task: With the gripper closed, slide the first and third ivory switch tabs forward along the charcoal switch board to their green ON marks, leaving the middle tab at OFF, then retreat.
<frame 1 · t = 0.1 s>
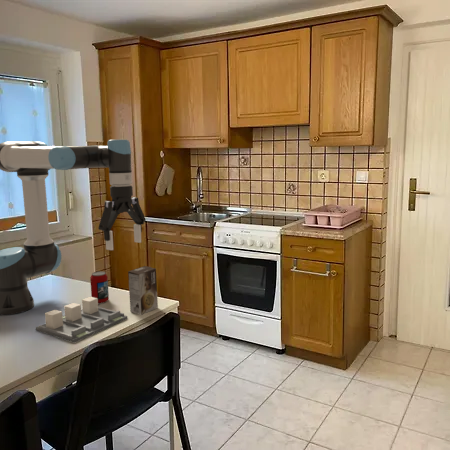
hand: (124, 245, 158), 28 cm above the table, fingers open, 13 cm apart
tab 3: (90, 305, 170), point 4 cm above the table, slide at 0.0 cm
tab 1: (54, 319, 156), point 4 cm above the table, slide at 0.0 cm
coffee box: (144, 310, 174), on the table
switch board: (83, 324, 161), on the table
beverage can: (100, 302, 184), on the table
tab 2: (72, 312, 163), point 4 cm above the table, slide at 0.0 cm
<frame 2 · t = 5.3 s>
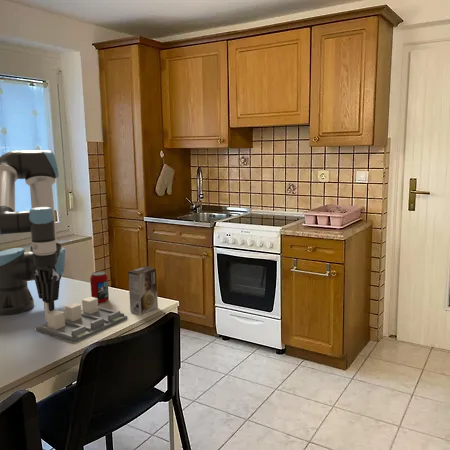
hand: (50, 319, 157), 3 cm above the table, fingers closed
tab 1: (56, 319, 156), point 4 cm above the table, slide at 1.0 cm, touching gripper
everything else where it was.
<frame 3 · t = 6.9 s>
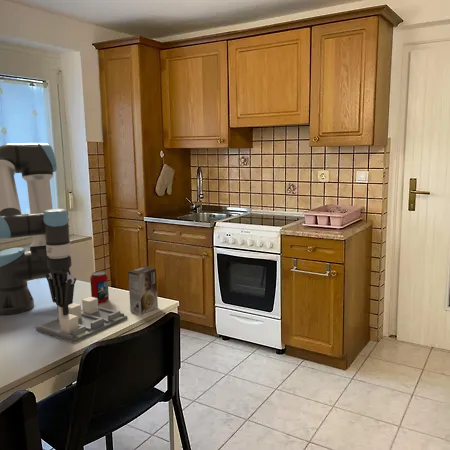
hand: (64, 323, 153), 3 cm above the table, fingers closed
tab 1: (69, 324, 152), point 4 cm above the table, slide at 8.1 cm, touching gripper
everything else where it was.
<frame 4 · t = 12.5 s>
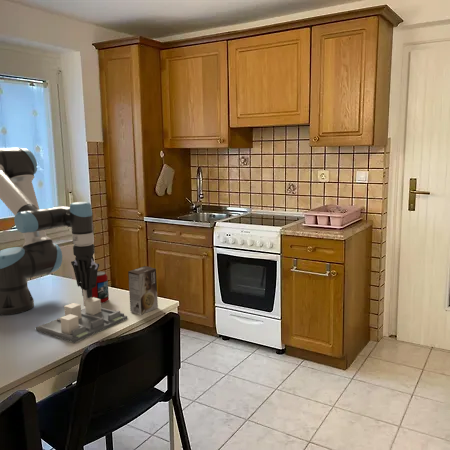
hand: (88, 305, 170), 3 cm above the table, fingers closed
tab 3: (93, 306, 169), point 4 cm above the table, slide at 1.5 cm, touching gripper
tab 1: (69, 324, 152), point 4 cm above the table, slide at 8.2 cm
everything else where it was.
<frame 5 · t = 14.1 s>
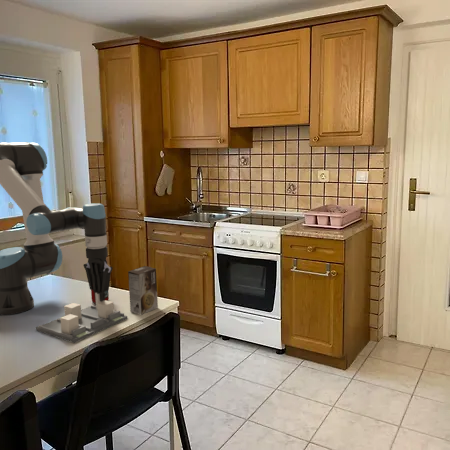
hand: (100, 308, 167), 3 cm above the table, fingers closed
tab 3: (105, 309, 165), point 4 cm above the table, slide at 8.2 cm, touching gripper
everything else where it was.
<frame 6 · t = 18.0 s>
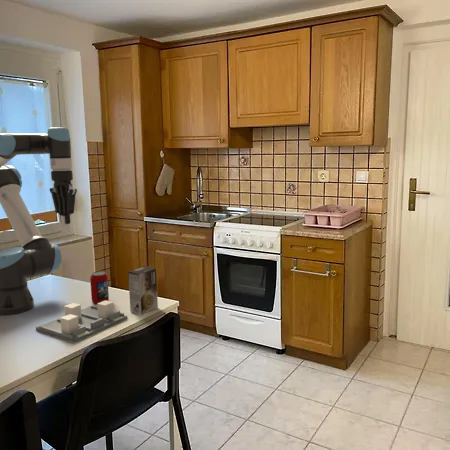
hand: (66, 232, 172), 30 cm above the table, fingers closed
tab 3: (105, 309, 165), point 4 cm above the table, slide at 8.2 cm
everything else where it was.
at the end: tab 1 slide at 8.2 cm; tab 3 slide at 8.2 cm; tab 2 slide at 0.0 cm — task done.
